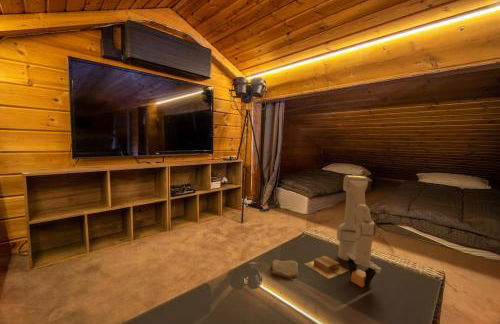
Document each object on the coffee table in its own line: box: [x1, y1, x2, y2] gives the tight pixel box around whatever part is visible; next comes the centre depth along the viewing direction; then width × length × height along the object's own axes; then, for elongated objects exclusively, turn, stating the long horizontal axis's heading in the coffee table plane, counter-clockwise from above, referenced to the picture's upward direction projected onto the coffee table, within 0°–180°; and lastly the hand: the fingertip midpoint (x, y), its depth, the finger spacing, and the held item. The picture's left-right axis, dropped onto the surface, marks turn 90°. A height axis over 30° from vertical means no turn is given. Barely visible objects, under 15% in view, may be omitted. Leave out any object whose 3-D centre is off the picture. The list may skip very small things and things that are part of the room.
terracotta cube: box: [350, 268, 366, 288], centre depth 98 cm, size 5×5×5 cm
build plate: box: [304, 260, 349, 280], centre depth 109 cm, size 14×14×1 cm
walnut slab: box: [313, 255, 340, 274], centre depth 109 cm, size 8×8×3 cm
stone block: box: [271, 259, 299, 280], centre depth 104 cm, size 12×5×10 cm
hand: (360, 281), depth 98 cm, fingers open, 6 cm apart
